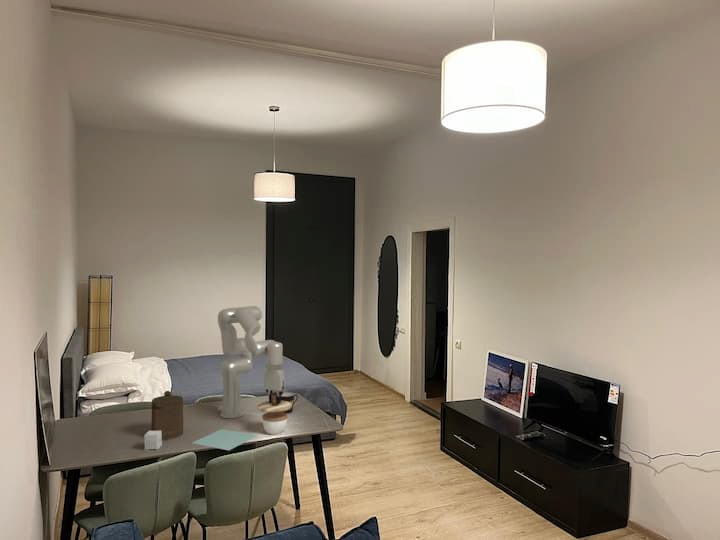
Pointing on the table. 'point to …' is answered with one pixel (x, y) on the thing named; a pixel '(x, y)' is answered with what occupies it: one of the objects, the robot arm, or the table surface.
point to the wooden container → (168, 415)
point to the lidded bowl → (274, 422)
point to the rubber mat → (224, 439)
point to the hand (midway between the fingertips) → (274, 402)
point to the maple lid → (274, 405)
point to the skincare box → (153, 439)
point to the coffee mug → (288, 400)
